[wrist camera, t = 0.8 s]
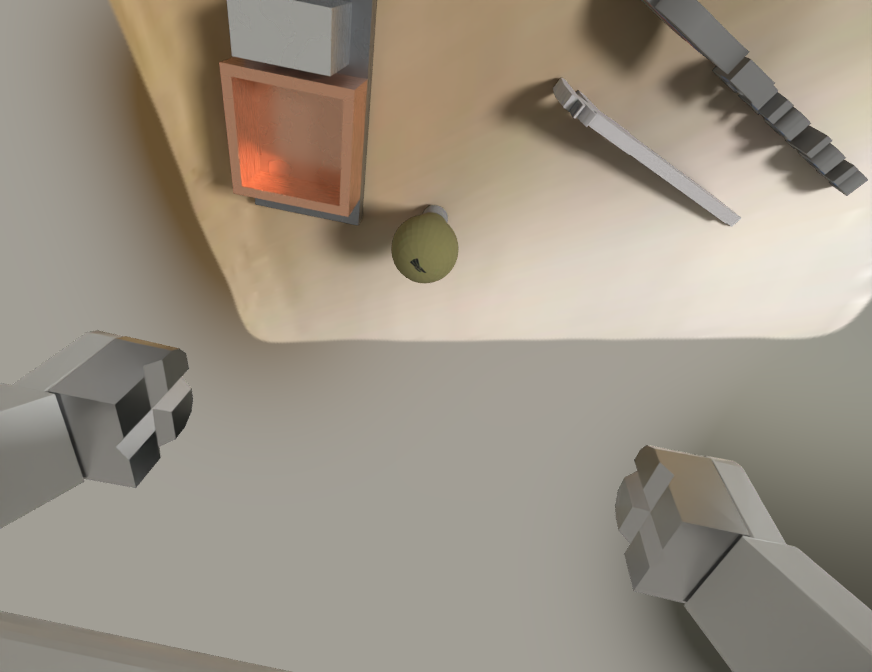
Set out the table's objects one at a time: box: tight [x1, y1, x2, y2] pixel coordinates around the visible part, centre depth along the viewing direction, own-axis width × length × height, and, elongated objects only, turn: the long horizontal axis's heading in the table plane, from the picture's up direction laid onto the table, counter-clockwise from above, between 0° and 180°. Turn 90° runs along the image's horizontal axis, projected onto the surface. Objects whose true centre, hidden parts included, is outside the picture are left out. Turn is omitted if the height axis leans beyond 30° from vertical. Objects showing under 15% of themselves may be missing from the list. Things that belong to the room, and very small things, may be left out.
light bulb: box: [391, 205, 458, 283], centre depth 42 cm, size 6×6×10 cm
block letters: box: [641, 0, 868, 196], centre depth 34 cm, size 25×2×6 cm, turn 56°
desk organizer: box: [219, 0, 377, 225], centre depth 37 cm, size 24×10×6 cm, turn 171°
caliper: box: [553, 77, 741, 226], centre depth 38 cm, size 20×1×6 cm, turn 58°
